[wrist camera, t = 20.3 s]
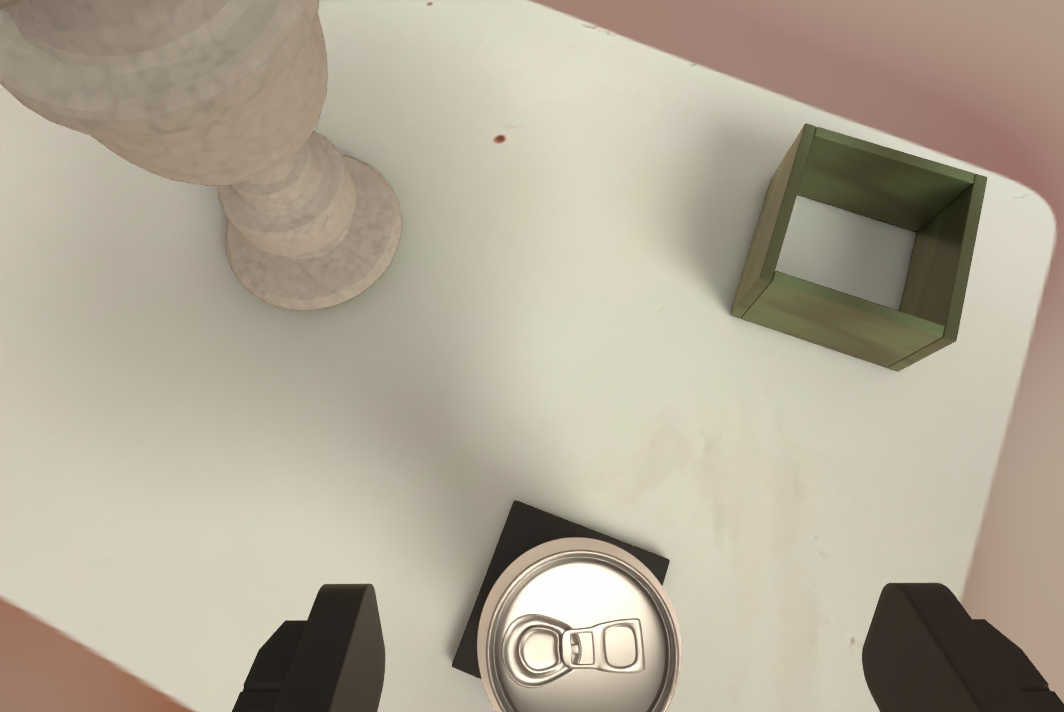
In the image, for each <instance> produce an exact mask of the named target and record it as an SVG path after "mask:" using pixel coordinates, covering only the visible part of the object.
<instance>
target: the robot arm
mask: <svg viewBox="0 0 1064 712" xmlns="http://www.w3.org/2000/svg"><path fill="white" fill-rule="evenodd" d="M862 663H863V671H864V675H865V679H866V682H867V685H868V688H869V690H870V692H871V694H872V696H873V698H874V700H875V702H876V704H877V706H878V708H879V710H880V712H1064V704H1063V703H1062V701H1061V700H1060V699H1059V697H1058V696H1057V695H1056V693H1055V692H1053V691H1050V690H1049V688H1048V683H1047V682H1046V681H1045V679H1044V678H1043V677H1042V675H1041V674H1040V673H1039V671H1038V670H1037V669H1036V668H1035V666H1034V665H1033V664H1032V662H1031V661H1030V660H1029V659H1028V657H1027V656H1026V655H1025V653H1024V652H1023V651H1022V649H1020V648H1019V647H1018V646H1017V645H1015V644H1014V643H1013V642H1011V641H1010V640H1009V639H1008V638H1007V637H1006V636H1004V635H1003V634H1002V633H1000V632H999V631H998V630H997V629H995V628H994V627H993V626H992V625H991V624H989V623H988V622H987V621H986V620H984V619H979V620H975V619H974V620H972V619H971V617H970V616H969V615H968V613H967V612H966V611H965V609H964V608H963V606H962V605H961V604H960V602H959V601H958V600H957V598H956V597H955V595H954V594H953V593H952V592H951V591H950V590H949V589H948V588H947V587H946V586H945V585H943V584H940V583H889V584H887V585H885V586H884V588H883V590H882V592H881V595H880V598H879V601H878V604H877V607H876V610H875V613H874V616H873V619H872V622H871V625H870V628H869V631H868V634H867V637H866V640H865V643H864V646H863V652H862ZM384 673H385V647H384V641H383V635H382V629H381V624H380V618H379V612H378V607H377V601H376V595H375V590H374V587H373V585H372V584H324V585H323V586H322V587H321V588H320V590H319V592H318V594H317V596H316V599H315V602H314V604H313V607H312V609H311V612H310V615H309V617H308V620H307V621H285V622H284V623H283V624H282V625H281V626H280V627H279V628H278V629H277V631H276V632H275V633H274V634H273V635H272V636H271V637H270V638H269V640H268V641H267V642H266V643H265V644H264V645H263V646H262V647H261V648H260V650H259V651H258V653H257V656H256V658H255V660H254V663H253V665H252V667H251V669H250V672H249V674H248V676H247V678H246V681H245V683H244V689H243V692H240V694H239V697H238V699H237V701H236V704H235V706H234V708H233V710H232V712H377V710H378V706H379V701H380V697H381V693H382V688H383V681H384Z"/></svg>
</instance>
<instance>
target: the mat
mask: <svg viewBox="0 0 1064 712" xmlns="http://www.w3.org/2000/svg"><path fill="white" fill-rule="evenodd" d="M575 537H577V538H590V539H596V540H600V541H604V542H607V543H610V544H612V545H615V546H617V547H619V548H621V549H623V550H625V551H626V552H628V553H630V554H631V555H633V556H634V557H635V558H637V559H638V560H639V561H640V562H641V563H643V564H644V565H645V566H646V567H647V568H648V569H649V570H650V571H651V572H652V574H653V575H654V576H655V577H656V578H657V580H658V581H659V582H660V584H661V585H663V582H664V578H665V575H666V572H667V568H668V565H669V562H670V561H669V559H666V558H664V557H661V556H658V555H656V554H653V553H651V552H648V551H645V550H643V549H640V548H638V547H635V546H632V545H630V544H627V543H625V542H622V541H620V540H617V539H614V538H612V537H609V536H607V535H604V534H601V533H599V532H596V531H594V530H591V529H588V528H586V527H583V526H581V525H578V524H576V523H573V522H570V521H568V520H565V519H563V518H560V517H557V516H555V515H552V514H550V513H547V512H544V511H542V510H539V509H537V508H534V507H532V506H529V505H526V504H524V503H521V502H519V501H516V500H515V501H514V502H513V505H512V507H511V510H510V513H509V515H508V518H507V521H506V523H505V526H504V529H503V531H502V534H501V537H500V539H499V542H498V545H497V547H496V550H495V552H494V555H493V558H492V560H491V563H490V566H489V568H488V571H487V574H486V576H485V579H484V582H483V584H482V587H481V589H480V592H479V595H478V597H477V600H476V603H475V605H474V608H473V611H472V613H471V616H470V619H469V621H468V624H467V627H466V629H465V632H464V634H463V637H462V640H461V642H460V645H459V648H458V650H457V653H456V656H455V658H454V661H453V664H452V667H454V668H456V669H459V670H461V671H463V672H466V673H468V674H470V675H473V676H475V677H477V678H480V679H482V678H481V674H480V669H479V663H478V654H477V637H478V628H479V622H480V618H481V614H482V611H483V607H484V605H485V602H486V600H487V597H488V595H489V593H490V591H491V589H492V588H493V586H494V584H495V583H496V581H497V580H498V578H499V577H500V576H501V574H502V573H503V572H504V571H505V570H506V569H507V567H508V566H509V565H510V564H511V563H513V562H514V561H515V560H516V559H517V558H518V557H520V556H521V555H522V554H524V553H525V552H527V551H529V550H530V549H532V548H534V547H536V546H538V545H541V544H543V543H546V542H549V541H552V540H557V539H562V538H575Z"/></svg>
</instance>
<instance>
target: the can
mask: <svg viewBox="0 0 1064 712" xmlns="http://www.w3.org/2000/svg"><path fill="white" fill-rule="evenodd" d="M477 654H478V663H479V669H480V674H481V678H482V682H483V685H484V688H485V690H486V693H487V695H488V697H489V700H490V702H491V703H492V705H493V707H494V709H495V710H496V712H666V710H667V708H668V706H669V704H670V702H671V700H672V697H673V695H674V692H675V689H676V686H677V683H678V678H679V674H680V667H681V636H680V630H679V625H678V621H677V617H676V614H675V611H674V609H673V606H672V604H671V601H670V599H669V597H668V595H667V594H666V592H665V590H664V588H663V587H662V585H661V584H660V582H659V581H658V580H657V578H656V577H655V576H654V575H653V574H652V572H651V571H650V570H649V569H648V568H647V567H646V566H645V565H644V564H643V563H641V562H640V561H639V560H638V559H637V558H635V557H634V556H633V555H631V554H630V553H628V552H626V551H625V550H623V549H621V548H619V547H617V546H615V545H612V544H610V543H607V542H604V541H600V540H596V539H590V538H577V537H575V538H562V539H557V540H552V541H549V542H546V543H543V544H541V545H538V546H536V547H534V548H532V549H530V550H529V551H527V552H525V553H524V554H522V555H521V556H520V557H518V558H517V559H516V560H515V561H514V562H513V563H511V564H510V565H509V566H508V567H507V569H506V570H505V571H504V572H503V573H502V574H501V576H500V577H499V578H498V580H497V581H496V583H495V584H494V586H493V588H492V589H491V591H490V593H489V595H488V597H487V600H486V602H485V605H484V607H483V611H482V614H481V618H480V622H479V628H478V637H477Z"/></svg>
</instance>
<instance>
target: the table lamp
mask: <svg viewBox="0 0 1064 712" xmlns="http://www.w3.org/2000/svg"><path fill="white" fill-rule="evenodd" d="M318 8H319V0H0V84H1V85H2V86H3V87H4V88H5V89H6V90H7V91H8V92H10V93H11V94H12V95H13V96H14V97H15V98H16V99H17V100H18V101H20V102H21V103H22V104H23V105H24V106H26V107H27V108H29V109H31V110H32V111H34V112H36V113H37V114H39V115H41V116H42V117H44V118H46V119H47V120H49V121H51V122H54V123H56V124H59V125H62V126H65V127H67V128H70V129H73V130H76V131H79V132H82V133H85V134H89V135H91V136H92V137H93V138H95V139H96V140H97V141H99V142H100V143H102V144H103V145H104V146H106V147H107V148H108V149H110V150H111V151H113V152H114V153H116V154H117V155H119V156H121V157H122V158H124V159H126V160H127V161H129V162H130V163H132V164H134V165H137V166H139V167H141V168H143V169H145V170H147V171H150V172H152V173H154V174H157V175H159V176H162V177H165V178H168V179H171V180H174V181H181V182H187V183H194V184H201V185H208V186H209V185H218V198H219V202H220V205H221V208H222V210H223V211H224V213H225V214H226V216H227V218H228V219H229V221H228V226H227V233H226V246H227V255H228V258H229V261H230V264H231V267H232V269H233V271H234V273H235V274H236V276H237V277H238V279H239V281H240V282H241V283H242V284H243V285H244V286H245V287H246V288H247V289H248V290H249V291H250V292H251V293H252V294H254V295H256V296H257V297H259V298H260V299H262V300H264V301H265V302H268V303H270V304H273V305H276V306H279V307H281V308H288V309H294V310H317V309H322V308H326V307H331V306H335V305H337V304H340V303H342V302H345V301H347V300H350V299H352V298H353V297H355V296H357V295H358V294H360V293H361V292H363V291H365V290H366V289H367V288H368V287H370V286H371V285H372V284H373V283H374V282H375V281H376V280H377V279H378V278H379V277H380V276H381V275H382V274H383V272H384V271H385V270H386V268H387V267H388V266H389V264H390V263H391V260H392V258H393V256H394V254H395V252H396V250H397V248H398V244H399V240H400V236H401V223H402V217H401V212H400V207H399V203H398V200H397V198H396V196H395V193H394V191H393V189H392V188H391V187H390V185H389V184H388V183H387V181H386V180H385V178H384V177H382V176H381V175H380V174H379V173H378V172H377V171H376V170H374V169H373V168H372V167H370V166H368V165H366V164H365V163H363V162H361V161H359V160H356V159H353V158H350V157H347V156H344V155H340V153H339V152H338V151H337V149H336V148H335V146H334V145H333V144H332V143H331V142H330V141H328V140H327V139H326V138H325V137H323V136H321V135H320V134H318V133H316V132H313V130H314V128H315V126H316V125H317V122H318V119H319V116H320V113H321V110H322V106H323V103H324V100H325V97H326V91H327V79H328V73H327V53H326V47H325V41H324V36H323V32H322V28H321V24H320V20H319V16H318Z"/></svg>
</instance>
